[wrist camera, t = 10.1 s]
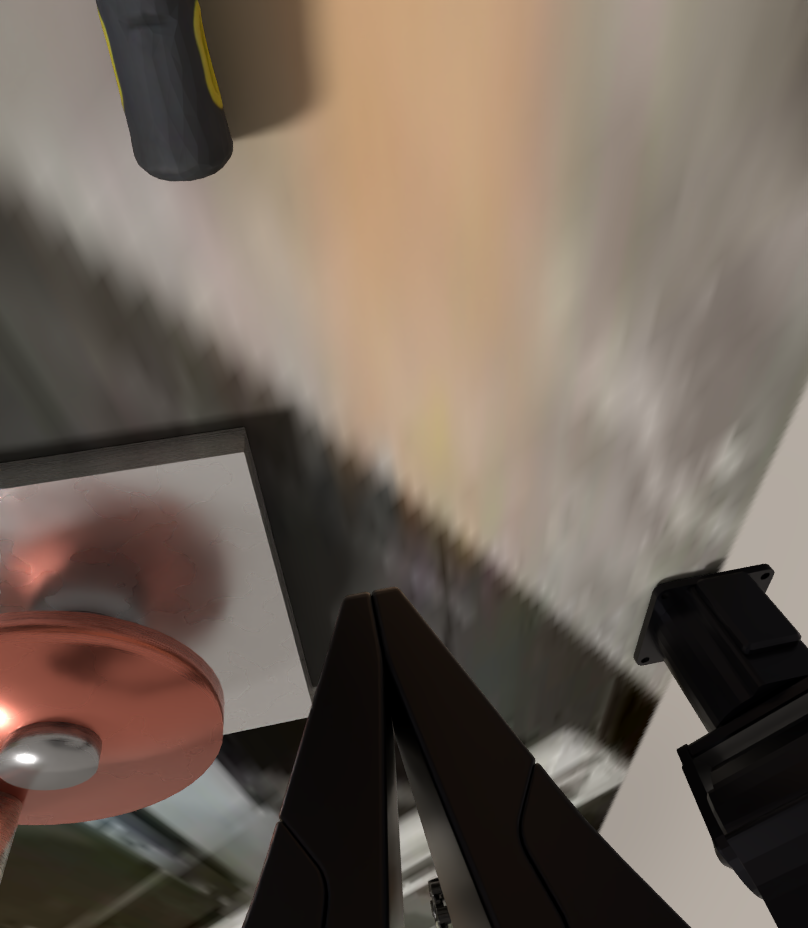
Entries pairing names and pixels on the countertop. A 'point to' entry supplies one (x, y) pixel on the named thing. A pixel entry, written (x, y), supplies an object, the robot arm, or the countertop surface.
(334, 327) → the countertop surface
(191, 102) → the mallet
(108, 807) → the handwheel
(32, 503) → the grey flat square slab
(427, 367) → the countertop surface
